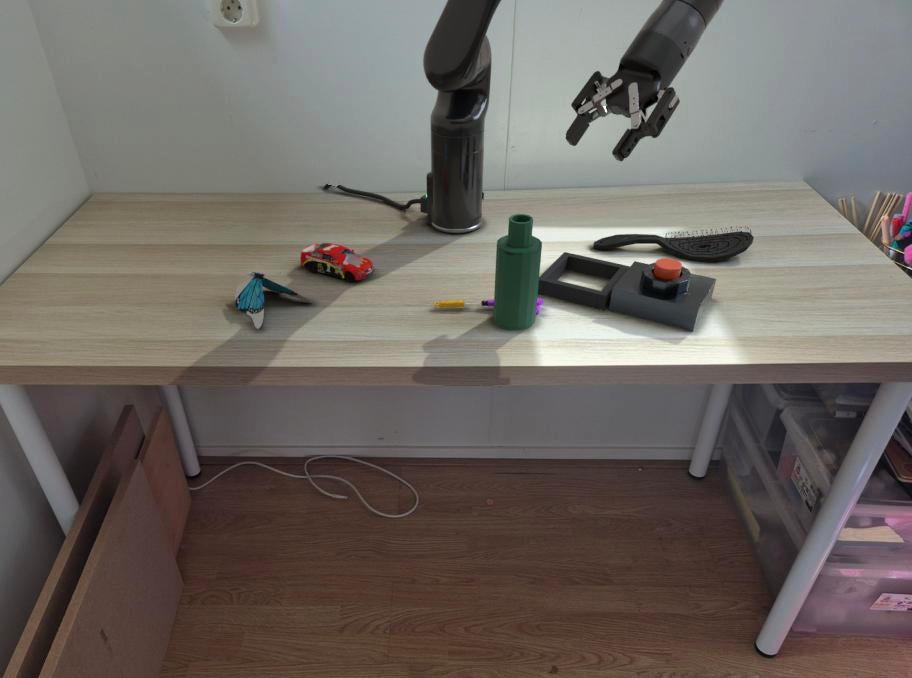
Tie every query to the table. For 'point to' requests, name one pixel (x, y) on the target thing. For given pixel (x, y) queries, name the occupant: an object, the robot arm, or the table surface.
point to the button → (667, 268)
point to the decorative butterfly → (258, 296)
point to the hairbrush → (687, 244)
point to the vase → (517, 275)
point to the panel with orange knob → (662, 296)
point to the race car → (336, 261)
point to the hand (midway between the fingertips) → (592, 150)
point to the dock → (575, 292)
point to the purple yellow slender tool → (484, 303)
